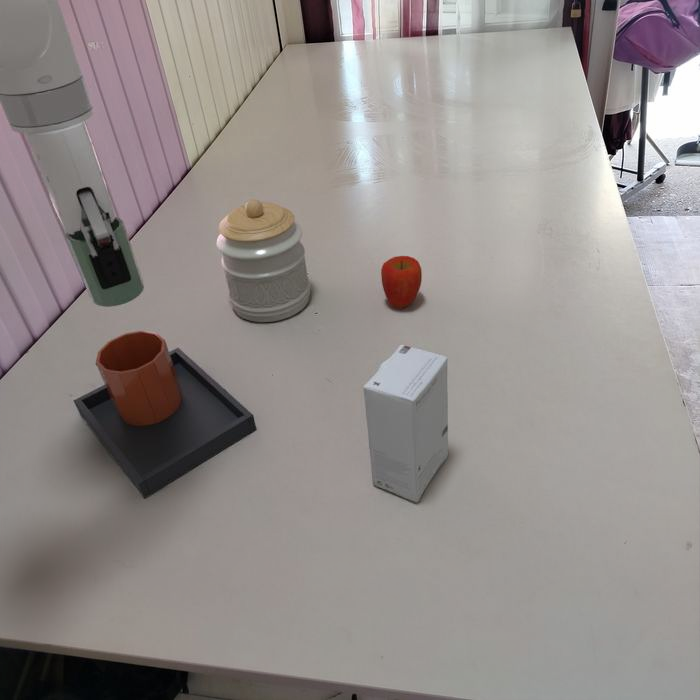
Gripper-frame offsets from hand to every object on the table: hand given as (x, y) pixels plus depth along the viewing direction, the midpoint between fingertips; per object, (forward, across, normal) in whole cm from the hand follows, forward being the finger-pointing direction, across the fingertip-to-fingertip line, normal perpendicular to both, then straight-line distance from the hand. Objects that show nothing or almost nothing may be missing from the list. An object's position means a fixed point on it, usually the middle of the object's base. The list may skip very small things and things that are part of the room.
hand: (108, 269), depth 70 cm
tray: (+23, +1, 0) cm, 23 cm away
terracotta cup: (+22, -3, -1) cm, 22 cm away
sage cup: (+3, 0, 0) cm, 3 cm away
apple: (+23, -3, +40) cm, 46 cm away
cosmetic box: (+23, +26, +22) cm, 41 cm away
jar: (+23, -16, +23) cm, 36 cm away
